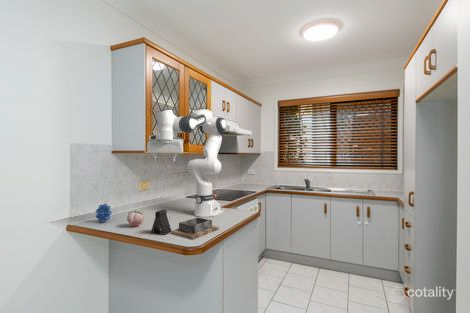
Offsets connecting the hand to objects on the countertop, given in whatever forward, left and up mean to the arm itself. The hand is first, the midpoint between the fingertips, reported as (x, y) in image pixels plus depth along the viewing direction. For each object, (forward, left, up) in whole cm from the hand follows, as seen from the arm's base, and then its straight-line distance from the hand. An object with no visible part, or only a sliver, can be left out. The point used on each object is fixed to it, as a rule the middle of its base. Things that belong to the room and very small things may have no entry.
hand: (165, 161), depth 140 cm
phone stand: (+7, +5, -39) cm, 40 cm away
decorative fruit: (+8, -17, -39) cm, 43 cm away
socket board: (-5, +19, -38) cm, 43 cm away
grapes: (+14, -41, -39) cm, 58 cm away
